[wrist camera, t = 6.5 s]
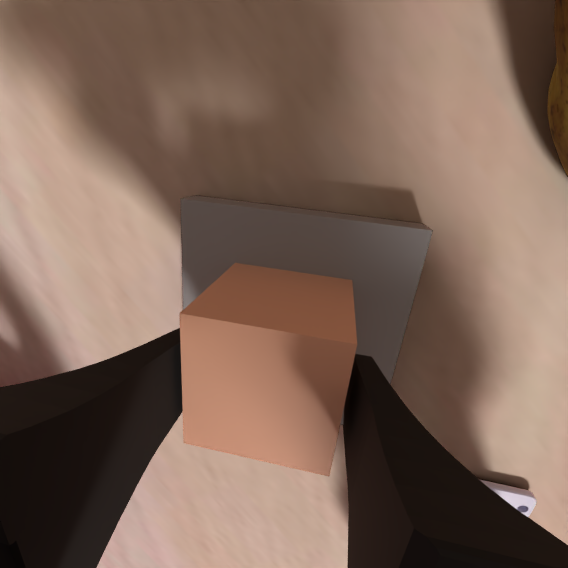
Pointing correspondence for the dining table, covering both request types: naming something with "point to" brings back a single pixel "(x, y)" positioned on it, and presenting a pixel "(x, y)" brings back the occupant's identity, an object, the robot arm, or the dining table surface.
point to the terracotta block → (268, 365)
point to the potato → (560, 85)
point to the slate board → (312, 259)
